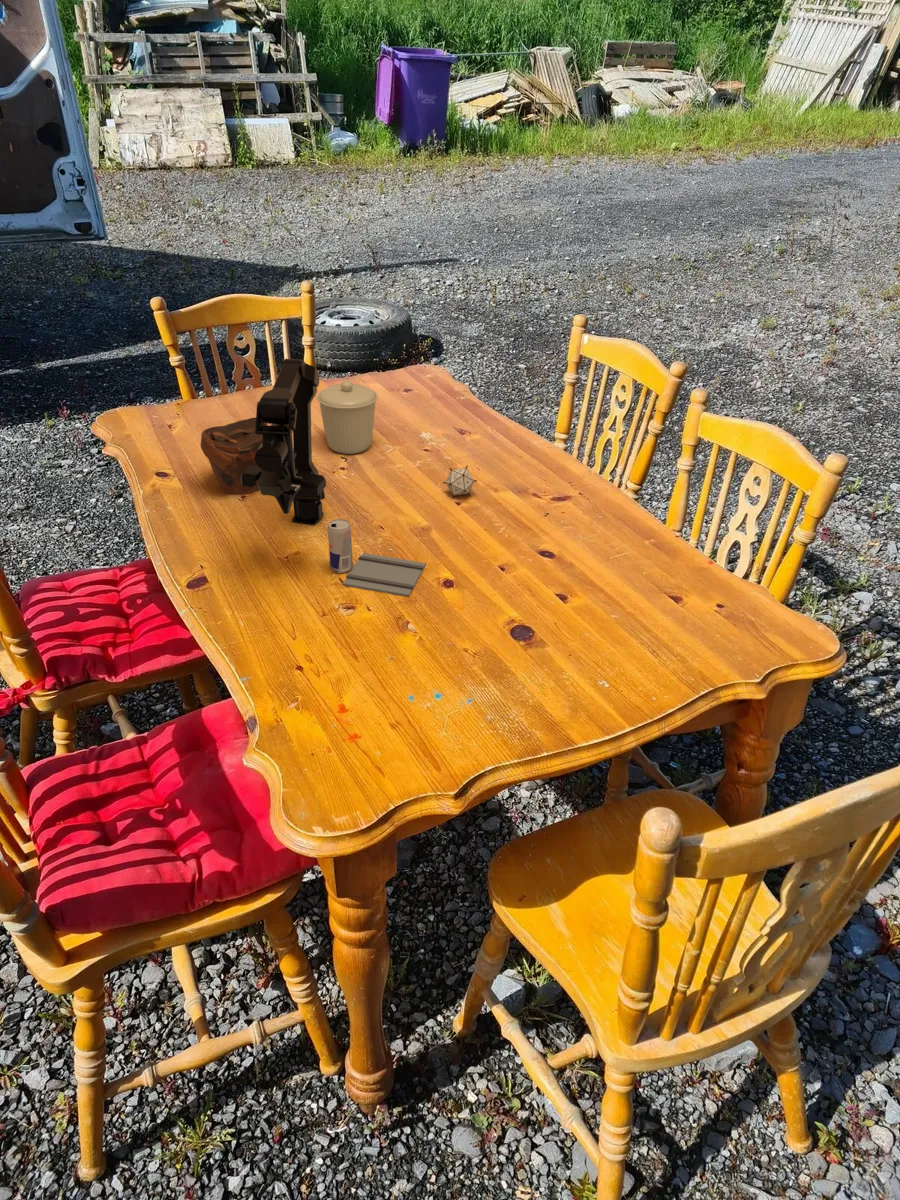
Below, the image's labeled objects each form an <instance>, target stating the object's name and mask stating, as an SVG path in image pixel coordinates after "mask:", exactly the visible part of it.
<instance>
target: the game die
mask: <svg viewBox="0 0 900 1200" xmlns="http://www.w3.org/2000/svg"><path fill="white" fill-rule="evenodd" d="M468 467H469V466H468V465H466V466H465V467H464V468H457V469H453V468H451V467H449V470H450V472H449V473H448V475H447V476H448V477H447V478H446V481H443V482H442V484H446V486H447V488H448V489H449V491H450V492H451V493H452V496H451V498H452V499H454V497H455V496H460V495H461V496H462V495H466V494H467V495H468V496H471V494H470V491H471V489H472V487H473V485H474V483H477V482H478V480H477V479H474V478H473V476H472V474H471V473H470V472H469V470H468Z"/></svg>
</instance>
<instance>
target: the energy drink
mask: <svg viewBox="0 0 900 1200" xmlns="http://www.w3.org/2000/svg"><path fill="white" fill-rule="evenodd" d="M327 538H328V540H327V541H328V555H329V565H330V566H329V567H330V570H331V571H332V572H334V573H337V574H346V573H348V572H349V573H350V572H351V570H352V569H353V567H354V566H353V564H354V563H353V545H352V526H351V523H350V521H348V519H347V520H346V519H343V518H336V519H333V520H331V521H329V522H328V525H327Z"/></svg>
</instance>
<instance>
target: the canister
mask: <svg viewBox="0 0 900 1200" xmlns="http://www.w3.org/2000/svg"><path fill="white" fill-rule="evenodd" d="M378 398H379V396H378V394H377V392H376V391H375V390H373V389H371V388H369V387H367V386H365V385H361V384H358V383H357V384H356V383H353V382H352V381H351V380H348V379H347V380H343V381H342V382H340V383H338V384H333V385H330V386H328V387H326V388H324V389H322V390H320V391H319V392H318V393H316V400H317V402H318V403H319V406H320V407H319V409H320V413H321V419H322V426H323V430H324V435H325V440H326V443H327V445H328V446H329V448H330V449H331V450H333V451H334V452H336V453H340V454H345V455H350V454H358V453H362V452H364V451H366V450H368V448H369V447H370V446H371V444H372V441H373V432H374V425H375V424H374V423H375V413H376V411H375V410H376V402H377V400H378Z"/></svg>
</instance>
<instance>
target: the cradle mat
mask: <svg viewBox="0 0 900 1200" xmlns="http://www.w3.org/2000/svg"><path fill="white" fill-rule="evenodd" d="M426 565H427V563H426V562H421V561H416V560H415V561H414V560H408V559H403V558H397V557H392V556H391V557H390V556H384V555H379V554H373V553H367V552H366V553H365V552H362V554H360V555H359V556H358V560H357V561H356V563H355V564H354V566H353V567H352V569H351V570H350V571H349V573H347V574H346V576H345V580H344V581H343V583H342V586H344V587H350V588H355V589H360V590H361V589H362V590H367V591H373V592H378V593H385V594H390V595H396V596H402V597H408V598H409V597H410V596H411V594H412V592H413V591H414V588H415V586H416V585H417V583H418V580H419V579H420V576H421V575H422V573H423V571H424V569H425V567H426Z"/></svg>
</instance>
